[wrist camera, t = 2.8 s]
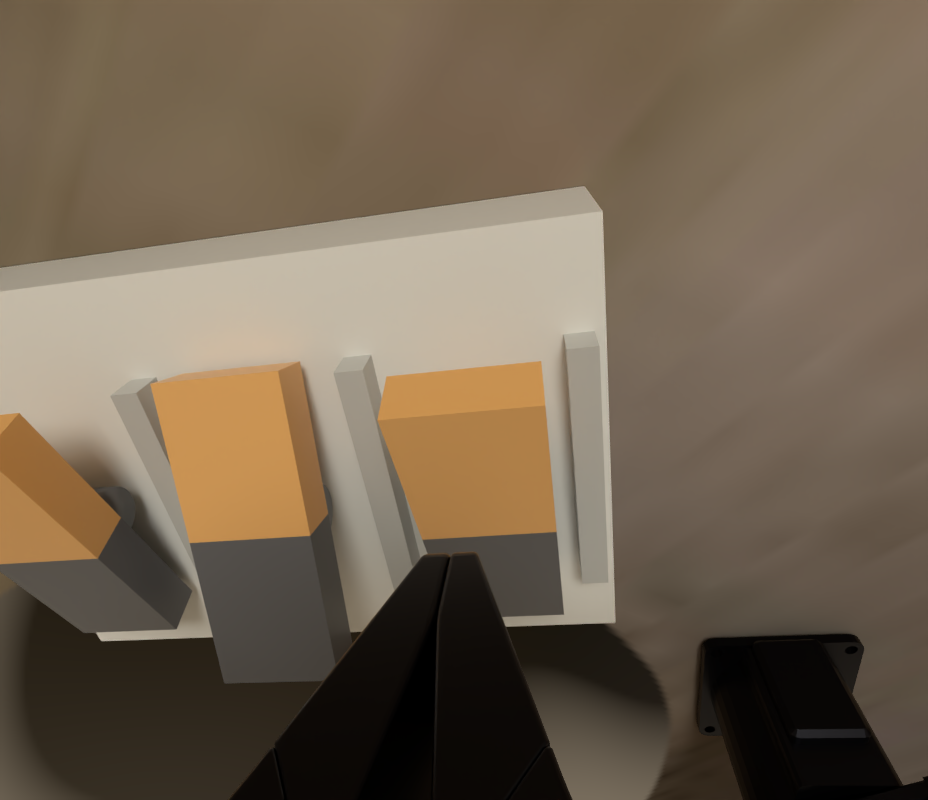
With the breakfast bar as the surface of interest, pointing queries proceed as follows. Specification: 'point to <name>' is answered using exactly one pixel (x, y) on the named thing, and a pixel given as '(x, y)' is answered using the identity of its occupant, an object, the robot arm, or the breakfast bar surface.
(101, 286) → the switch box
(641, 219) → the breakfast bar surface
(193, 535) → the block
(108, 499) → the block
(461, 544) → the rocker
